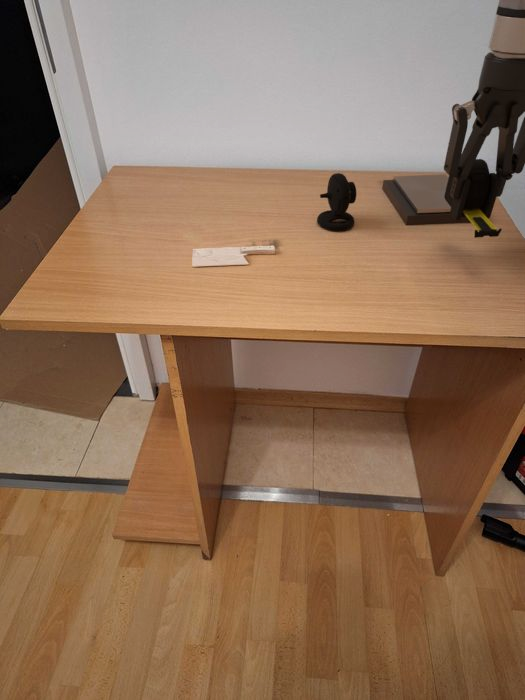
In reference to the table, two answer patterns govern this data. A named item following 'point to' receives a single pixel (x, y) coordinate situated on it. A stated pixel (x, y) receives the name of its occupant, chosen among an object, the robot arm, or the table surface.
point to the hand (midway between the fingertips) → (469, 215)
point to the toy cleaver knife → (227, 255)
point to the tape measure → (476, 199)
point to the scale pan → (424, 192)
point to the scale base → (408, 211)
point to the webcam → (338, 203)
